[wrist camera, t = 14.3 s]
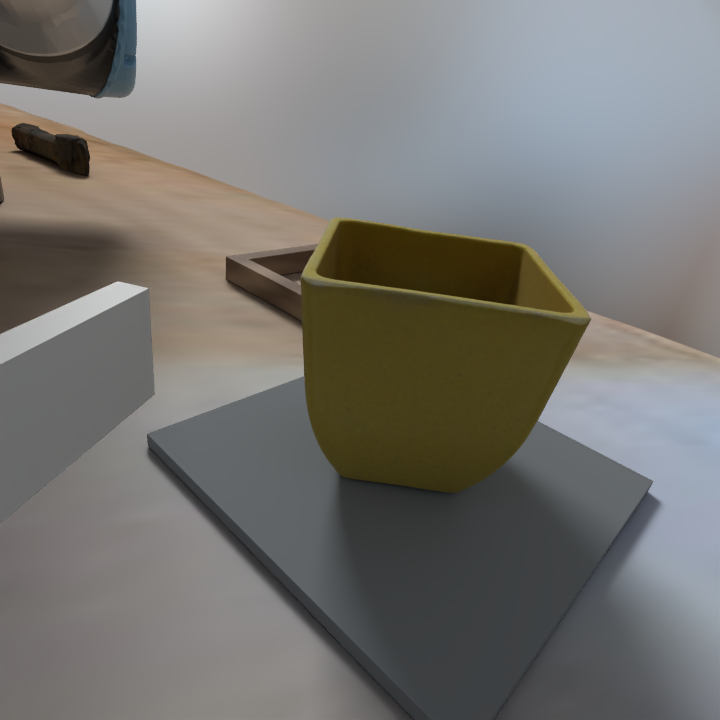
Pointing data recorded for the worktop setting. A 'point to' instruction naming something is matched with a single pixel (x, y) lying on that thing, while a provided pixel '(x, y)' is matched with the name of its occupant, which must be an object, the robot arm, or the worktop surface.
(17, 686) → the worktop surface
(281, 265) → the square wooden frame
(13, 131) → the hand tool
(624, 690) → the worktop surface
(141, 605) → the worktop surface
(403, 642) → the mat
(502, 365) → the flower pot
